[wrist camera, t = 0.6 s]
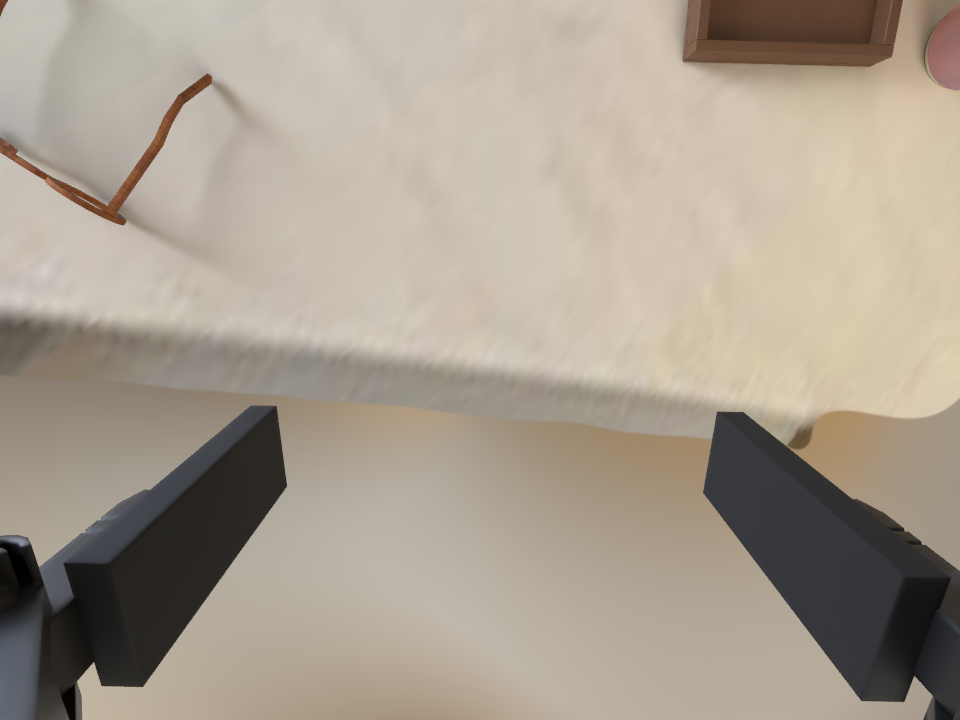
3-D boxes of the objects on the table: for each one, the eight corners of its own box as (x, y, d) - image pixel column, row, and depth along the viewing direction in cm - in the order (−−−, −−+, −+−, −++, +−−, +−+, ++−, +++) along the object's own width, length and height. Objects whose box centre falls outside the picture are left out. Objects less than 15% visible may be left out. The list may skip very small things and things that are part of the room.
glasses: (-27, 124, 35) (-105, 105, 30) (47, -43, 33) (-25, -92, 28) (139, 230, 37) (91, 228, 33) (219, 80, 35) (180, 54, 30)
